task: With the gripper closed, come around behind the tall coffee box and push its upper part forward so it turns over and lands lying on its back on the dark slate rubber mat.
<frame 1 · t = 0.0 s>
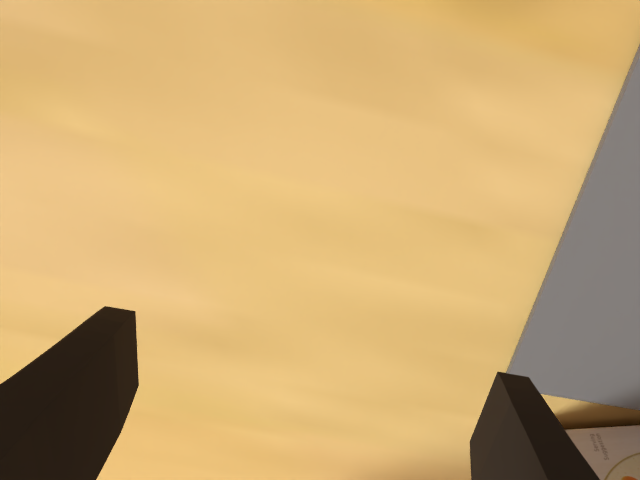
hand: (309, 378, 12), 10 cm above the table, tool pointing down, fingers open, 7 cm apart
coffee box: (634, 463, 27), on the table, touching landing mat
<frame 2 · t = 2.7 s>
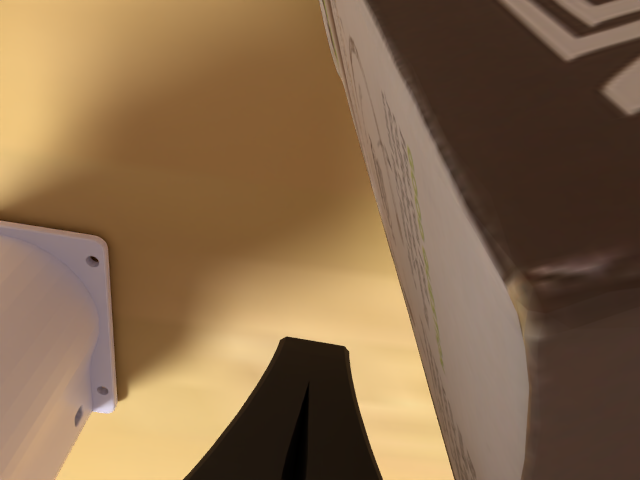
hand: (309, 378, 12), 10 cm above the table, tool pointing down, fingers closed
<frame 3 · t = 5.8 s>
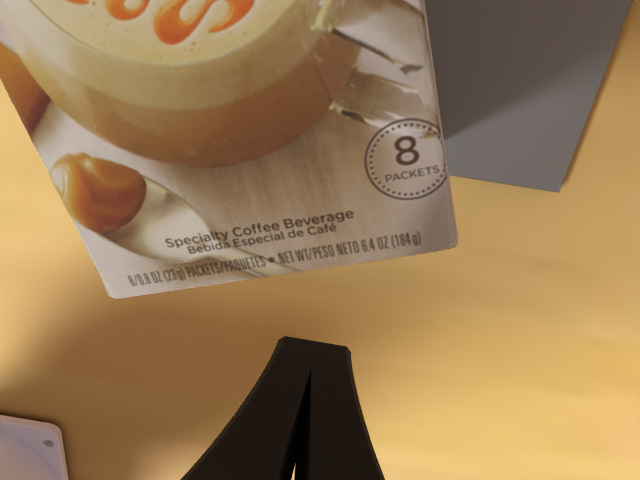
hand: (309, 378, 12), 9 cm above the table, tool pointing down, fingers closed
coffee box: (292, 225, 17), point 4 cm above the table, touching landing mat
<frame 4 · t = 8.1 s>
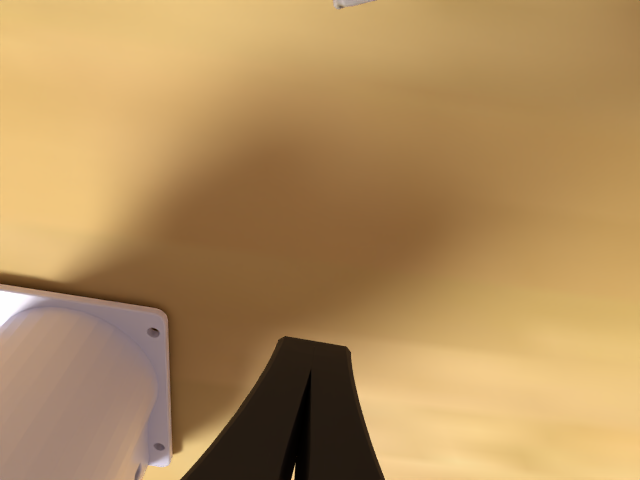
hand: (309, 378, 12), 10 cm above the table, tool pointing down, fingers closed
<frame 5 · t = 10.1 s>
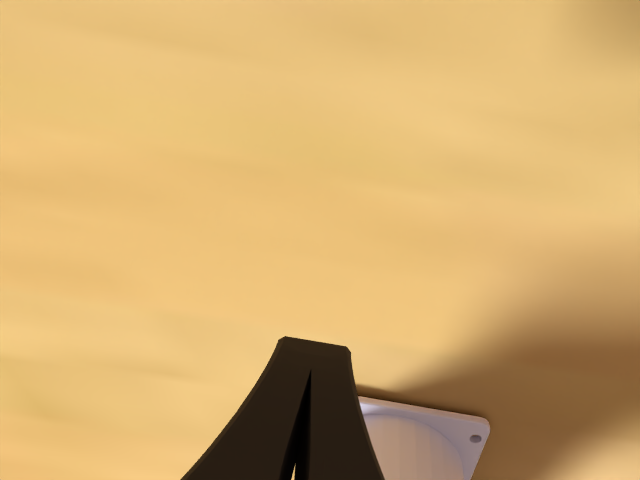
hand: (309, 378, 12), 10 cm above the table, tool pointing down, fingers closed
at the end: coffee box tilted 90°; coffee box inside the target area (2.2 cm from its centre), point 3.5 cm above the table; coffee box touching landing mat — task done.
